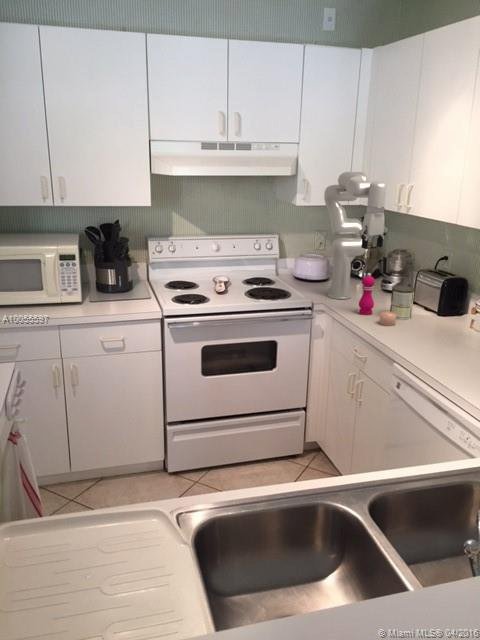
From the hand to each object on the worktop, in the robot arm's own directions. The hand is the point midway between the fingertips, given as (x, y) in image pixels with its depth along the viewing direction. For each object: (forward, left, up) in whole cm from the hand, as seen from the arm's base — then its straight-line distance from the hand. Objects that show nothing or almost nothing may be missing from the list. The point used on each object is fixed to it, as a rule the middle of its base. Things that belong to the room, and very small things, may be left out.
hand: (371, 247), depth 248 cm
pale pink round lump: (+17, -3, -32) cm, 36 cm away
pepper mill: (0, 0, -32) cm, 32 cm away
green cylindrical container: (+12, +11, -32) cm, 36 cm away
